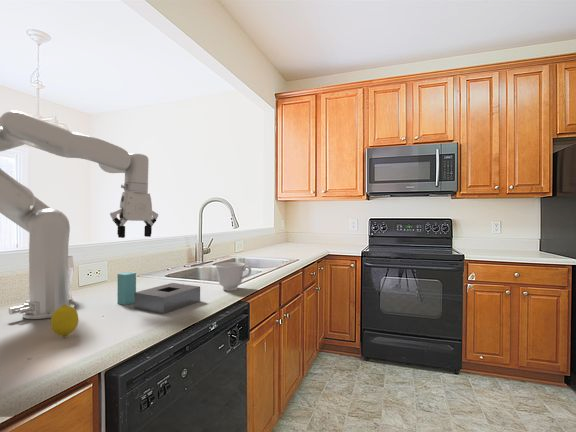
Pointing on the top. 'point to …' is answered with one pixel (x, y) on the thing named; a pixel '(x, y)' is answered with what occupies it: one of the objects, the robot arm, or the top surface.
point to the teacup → (231, 274)
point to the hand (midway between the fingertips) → (135, 237)
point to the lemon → (64, 320)
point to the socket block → (166, 297)
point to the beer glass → (70, 275)
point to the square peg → (126, 288)
